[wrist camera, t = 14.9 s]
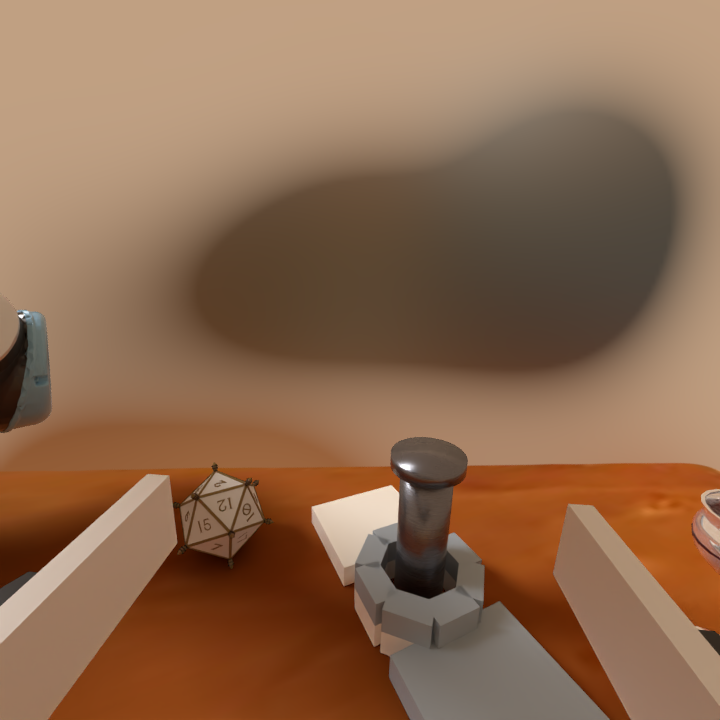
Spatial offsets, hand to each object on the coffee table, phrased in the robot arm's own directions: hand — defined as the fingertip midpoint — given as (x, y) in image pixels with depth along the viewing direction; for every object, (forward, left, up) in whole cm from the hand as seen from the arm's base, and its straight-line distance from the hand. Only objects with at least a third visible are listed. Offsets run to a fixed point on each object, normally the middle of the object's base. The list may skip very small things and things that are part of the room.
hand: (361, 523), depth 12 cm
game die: (-24, -3, -19) cm, 31 cm away
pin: (-11, +11, -19) cm, 24 cm away
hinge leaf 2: (-7, +11, -19) cm, 23 cm away
